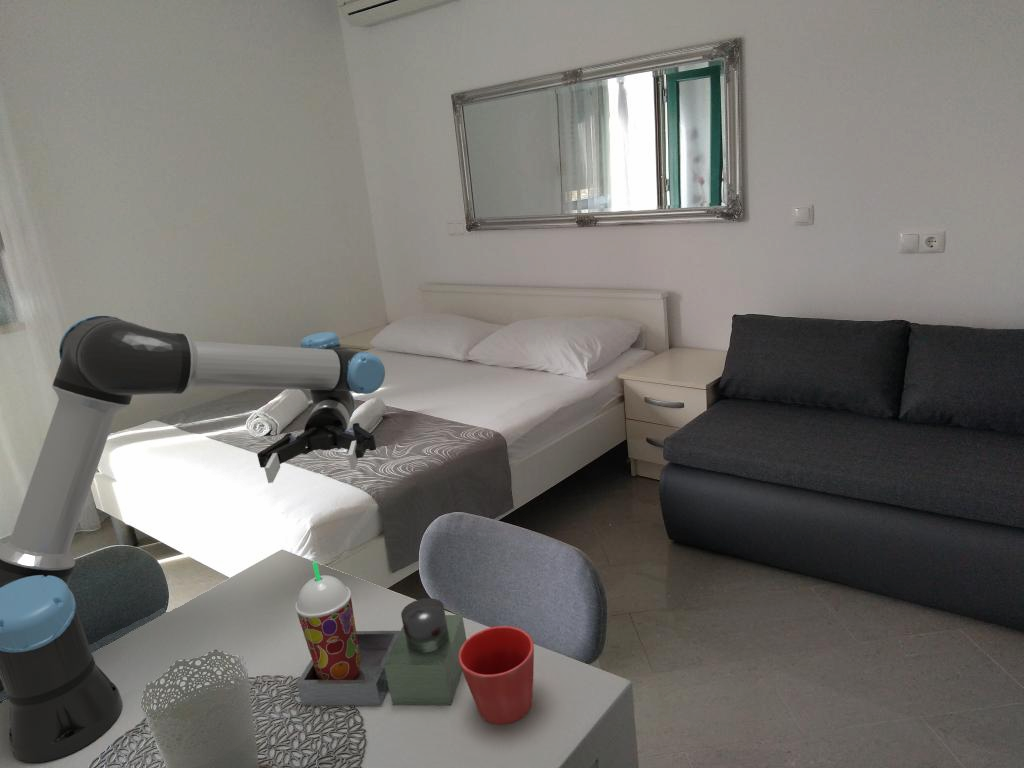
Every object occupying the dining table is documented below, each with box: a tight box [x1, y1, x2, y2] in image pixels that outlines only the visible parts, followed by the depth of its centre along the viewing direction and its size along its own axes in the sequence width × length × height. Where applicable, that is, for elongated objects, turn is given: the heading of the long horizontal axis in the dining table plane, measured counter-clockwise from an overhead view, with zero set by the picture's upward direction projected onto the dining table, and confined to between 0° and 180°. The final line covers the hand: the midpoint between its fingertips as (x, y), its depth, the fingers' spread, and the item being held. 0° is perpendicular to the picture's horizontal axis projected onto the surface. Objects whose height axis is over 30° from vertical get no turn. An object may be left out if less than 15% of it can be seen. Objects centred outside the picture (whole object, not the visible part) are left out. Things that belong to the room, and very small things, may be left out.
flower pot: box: [459, 625, 535, 726], centre depth 107 cm, size 11×11×10 cm
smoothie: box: [294, 561, 361, 680], centre depth 116 cm, size 8×8×20 cm
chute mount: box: [296, 597, 467, 707], centre depth 116 cm, size 23×13×12 cm, turn 81°
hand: (310, 468), depth 125 cm, fingers open, 13 cm apart
